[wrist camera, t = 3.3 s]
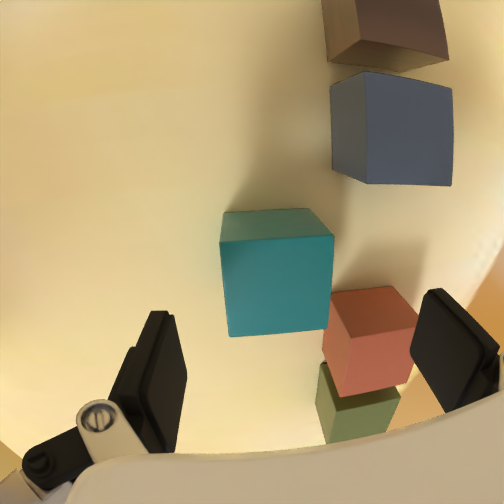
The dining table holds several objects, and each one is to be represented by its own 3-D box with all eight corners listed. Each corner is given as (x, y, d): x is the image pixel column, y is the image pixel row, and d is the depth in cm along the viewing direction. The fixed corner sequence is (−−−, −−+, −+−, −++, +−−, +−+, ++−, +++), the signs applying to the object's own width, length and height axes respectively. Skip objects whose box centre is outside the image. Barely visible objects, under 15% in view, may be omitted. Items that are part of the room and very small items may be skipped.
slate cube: (328, 86, 15) (363, 70, 10) (403, 94, 15) (452, 88, 10) (331, 170, 17) (366, 184, 12) (404, 171, 17) (452, 186, 12)
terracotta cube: (327, 292, 20) (351, 337, 15) (392, 285, 20) (427, 324, 15) (321, 349, 22) (339, 398, 17) (381, 340, 22) (407, 383, 17)
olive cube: (320, 364, 22) (336, 411, 17) (377, 354, 22) (401, 397, 18) (314, 403, 24) (326, 447, 19) (367, 394, 24) (384, 434, 19)
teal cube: (229, 289, 19) (229, 338, 15) (223, 212, 17) (218, 242, 13) (307, 283, 19) (328, 329, 15) (309, 207, 17) (335, 235, 13)
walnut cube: (319, -8, 12) (346, -45, 8) (393, 6, 13) (433, -20, 8) (327, 62, 14) (360, 39, 10) (402, 72, 14) (449, 60, 10)
